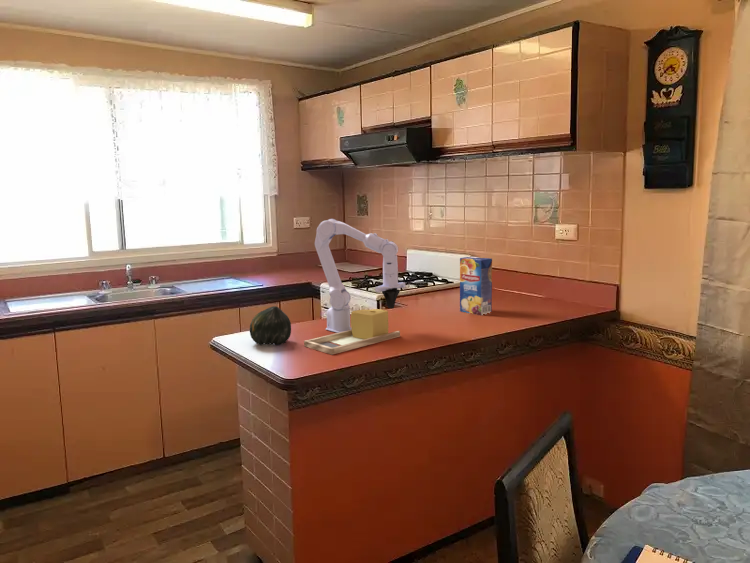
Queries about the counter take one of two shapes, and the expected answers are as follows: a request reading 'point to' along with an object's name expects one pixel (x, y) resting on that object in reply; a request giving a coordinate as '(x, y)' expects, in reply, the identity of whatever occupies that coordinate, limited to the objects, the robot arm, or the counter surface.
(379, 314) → the cheese
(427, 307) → the counter surface
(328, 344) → the pad
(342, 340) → the pad
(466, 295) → the juice carton
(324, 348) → the lane rails
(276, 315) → the squash
